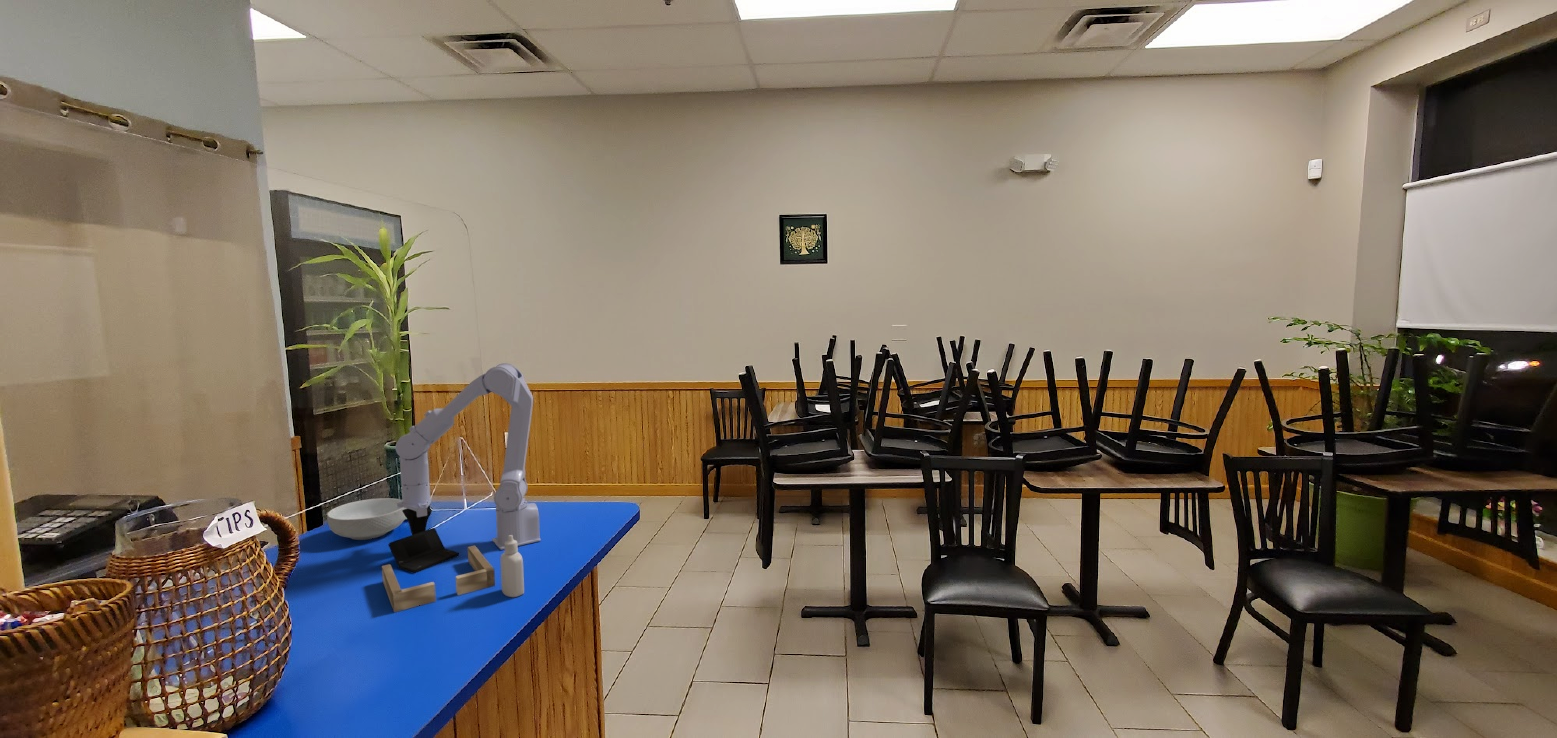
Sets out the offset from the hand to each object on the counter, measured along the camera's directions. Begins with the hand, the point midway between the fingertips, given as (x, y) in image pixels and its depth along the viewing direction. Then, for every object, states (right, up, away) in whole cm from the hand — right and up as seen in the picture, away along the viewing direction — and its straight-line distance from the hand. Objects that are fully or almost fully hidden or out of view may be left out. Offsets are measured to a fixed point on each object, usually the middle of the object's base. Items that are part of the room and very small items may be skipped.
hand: (418, 537), depth 145 cm
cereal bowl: (-18, -2, +10) cm, 21 cm away
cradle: (+14, -5, -17) cm, 23 cm away
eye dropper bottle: (+32, -5, -21) cm, 39 cm away
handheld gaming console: (+5, -4, -6) cm, 9 cm away
